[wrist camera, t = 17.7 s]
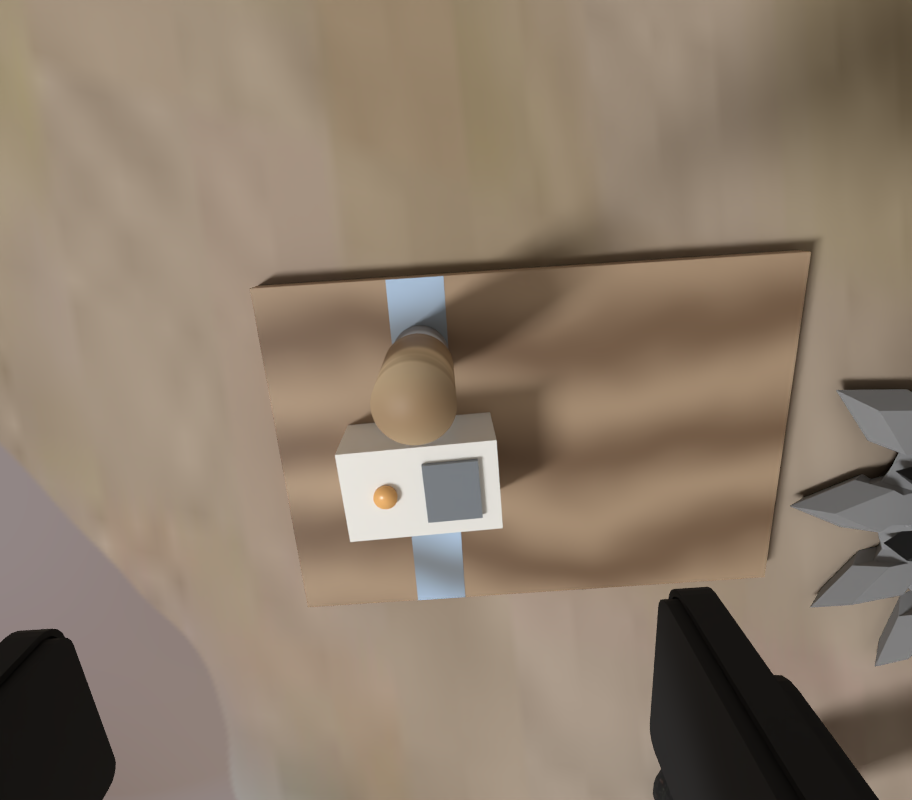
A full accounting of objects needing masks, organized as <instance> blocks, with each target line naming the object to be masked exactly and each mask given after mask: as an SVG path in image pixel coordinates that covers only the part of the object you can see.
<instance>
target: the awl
mask: <svg viewBox="0 0 912 800" xmlns="http://www.w3.org/2000/svg"><path fill="white" fill-rule="evenodd" d="M370 409H371V414H372V417H373V419H374V421H375V423H376V425H377V426H378V428H379V429H380V430H381V431H382V432H383V433H384V434H385V435H386V436H387V437H389V438H390V439H392V440H394V441H396V442H399V443H401V444H406V445H423V444H427V443H430V442H433V441H435V440H436V439H438V438H440V437H441V436H442V435H444V434H445V433H446V432H447V430H448V429H449V428H450V427H451V425H452V423H453V421H454V419H455V416H456V412H457V397H456V386H455V375H454V365H453V359H452V356H451V354H450V352H449V350H448V345H447V343H446V340H445V339H444V337H443V336H442V335H441V334H440V333H439V332H438V331H437V330H435V329H434V328H431V327H429V326H424V325H417V326H412V327H409V328H407V329H405V330H404V331H403V332H401V333H400V334H399V336H398V337H397V339H396V340H395V342H394V343H393V344H392V346H391V347H390V348H389V350H388V352H387V354H386V356H385V359H384V361H383V364H382V367H381V369H380V372H379V375H378V378H377V380H376V383H375V386H374V388H373V391H372V394H371V400H370Z"/></svg>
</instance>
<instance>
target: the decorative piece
mask: <svg viewBox="0 0 912 800" xmlns="http://www.w3.org/2000/svg"><path fill="white" fill-rule="evenodd" d="M836 391H837V392H838V394H839V395H840V397H841V399H842V400H843V402H844V403H845V405H846V407H847V408H848V410H849V411H850V413H851V415H852V416H853V418H854V419H855V421H856V423H857V424H858V426H859V427H860V429H861V430H862V432H863V434H864V435H865V437H866V438H867V440H868V441H870V442H873V443H875V444H878V445H881V446H883V447H886V448H888V449H891V450H893V451H896V452H899V453H898V455H897V457H896V459H895V461H894V463H893V465H892V467H891V468H890V469H889V470H888V472H887V473H886V474H885V475H884V476H880V477H877V478H874V479H870V478H868V477H866V476H864V475H863V474H861V475H858V476H856V477H853V478H851V479H849V480H846V481H844V482H841V483H839V484H836V485H834V486H831V487H829V488H826V489H824V490H821V491H819V492H816V493H814V494H811V495H809V496H806V497H804V498H802V499H801V500H799V501H797V502H796V503H794V504H792V505H791V507H793V508H796V509H798V510H801V511H803V512H805V513H808V514H810V515H813V516H815V517H818V518H820V519H822V520H825V521H827V522H830V523H832V524H835V525H837V526H839V527H845V528H852V529H859V530H866V531H873V532H878V535H879V539H880V544H879V545H878V546H877V547H872V548H868V549H863V550H859V551H858V552H857V553H856V554H855V555H854V556H853V557H852V558H851V559H850V560H849V561H848V562H847V563H846V564H845V565H844V566H843V567H842V568H841V569H840V570H839V571H838V572H837V573H836V574H835V575H834V576H833V577H832V578H831V579H830V580H829V581H828V582H827V583H826V584H825V585H824V586H823V587H822V588H821V590H820V591H819V593H818V595H817V596H816V598H815V600H814V601H813V603H812V605H811V607H825V606H842V605H853V604H858V603H864V602H869V601H874V600H879V599H884V598H889V597H895V596H900V595H901V596H900V597H899V599H898V601H897V603H896V605H895V608H894V610H893V612H892V614H891V616H890V618H889V620H888V622H887V624H886V626H885V628H884V630H883V632H882V635H881V637H880V639H879V643H878V650H877V656H876V662H875V666H880V665H884V664H888V663H893V662H897V661H901V660H906V659H908V658H910V657H911V656H912V392H911V391H909V390H907V389H885V390H836ZM907 588H909V589H910V591H908V592H906V593H905V591H906V590H907Z"/></svg>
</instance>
